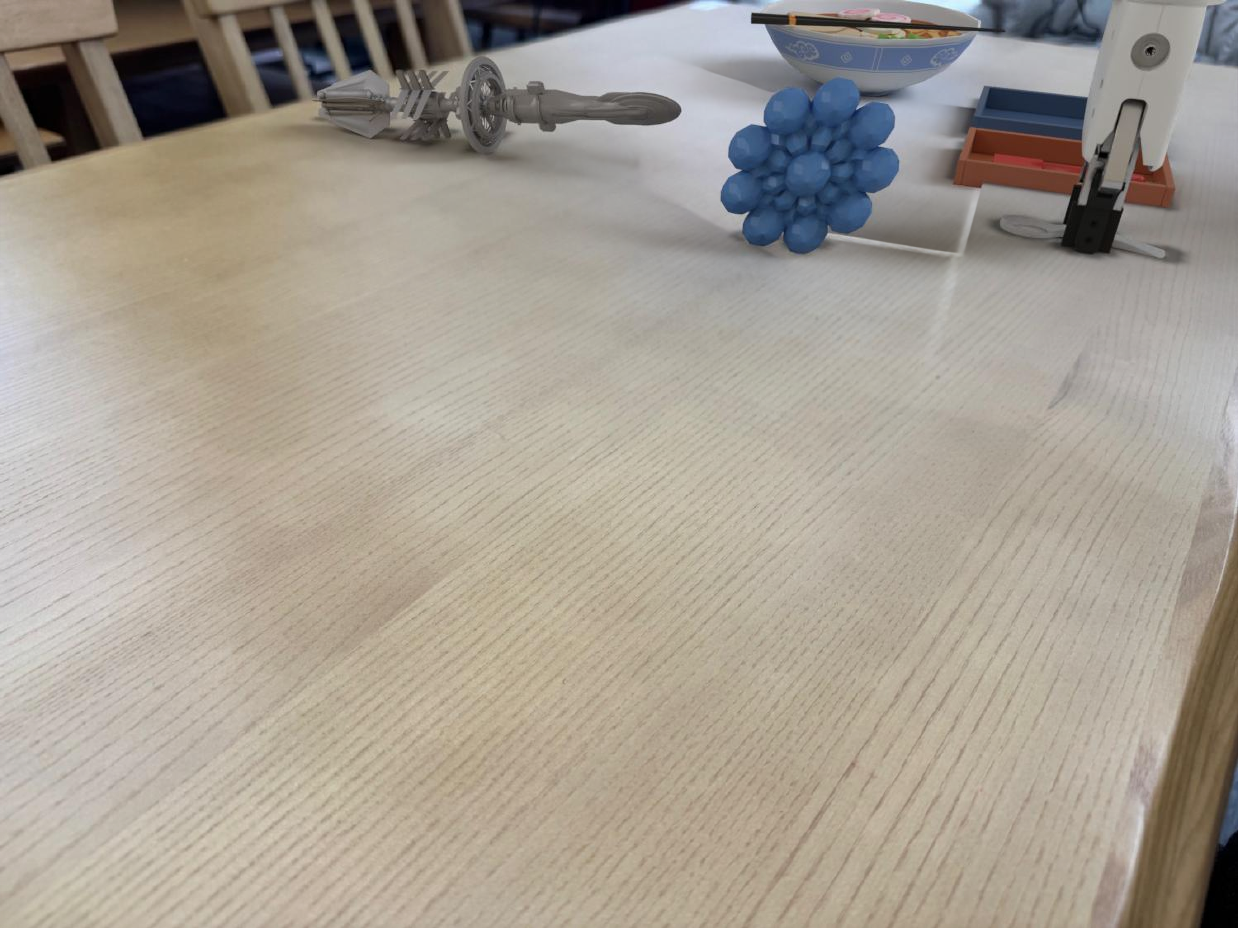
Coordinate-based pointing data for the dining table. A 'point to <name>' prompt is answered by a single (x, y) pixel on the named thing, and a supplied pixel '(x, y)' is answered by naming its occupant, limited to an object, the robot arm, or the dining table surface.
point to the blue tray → (1031, 112)
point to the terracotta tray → (1050, 150)
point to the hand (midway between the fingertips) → (1082, 248)
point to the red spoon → (1046, 165)
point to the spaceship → (479, 105)
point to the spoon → (1058, 231)
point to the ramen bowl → (868, 40)
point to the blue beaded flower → (810, 166)
